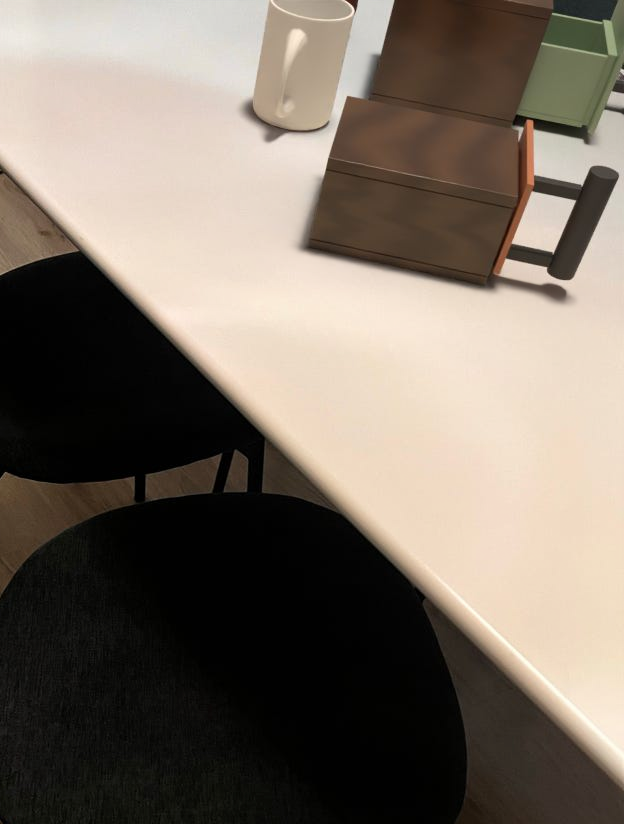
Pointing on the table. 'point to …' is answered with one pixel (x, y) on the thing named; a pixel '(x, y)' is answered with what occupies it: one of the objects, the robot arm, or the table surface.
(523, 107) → the green drawer
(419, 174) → the cubby low
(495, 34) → the wooden drawer cabinet
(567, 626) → the table surface
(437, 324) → the table surface
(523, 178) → the orange drawer
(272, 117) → the mug
